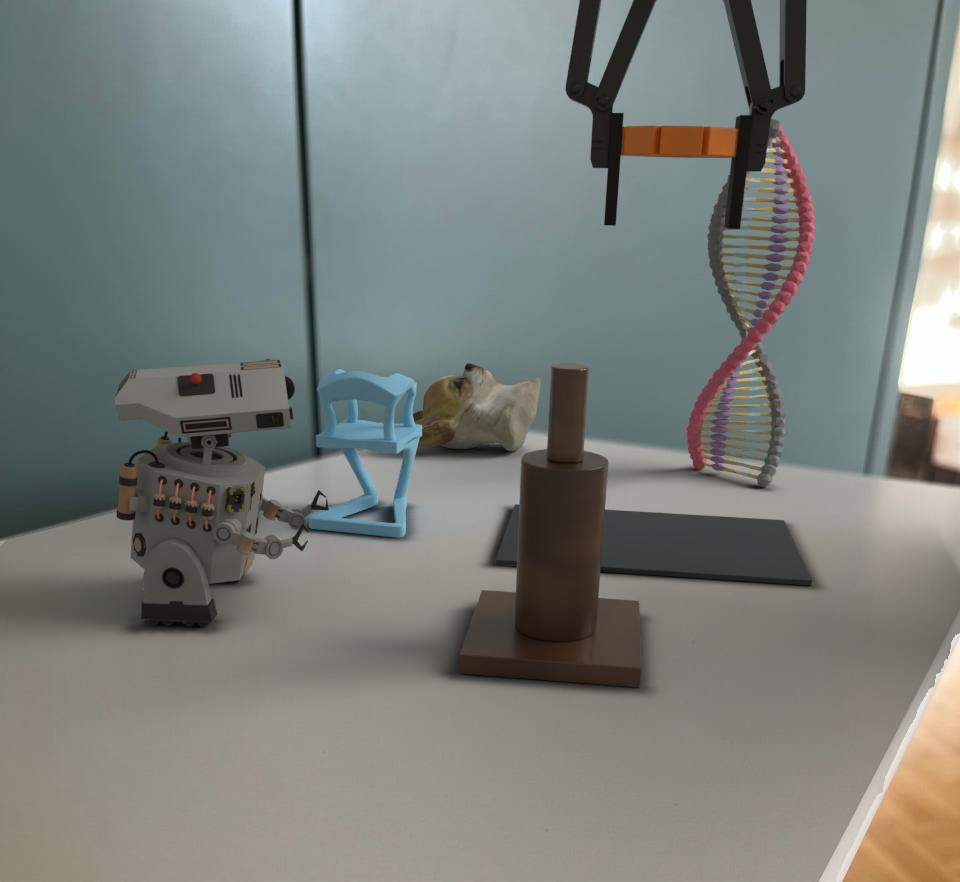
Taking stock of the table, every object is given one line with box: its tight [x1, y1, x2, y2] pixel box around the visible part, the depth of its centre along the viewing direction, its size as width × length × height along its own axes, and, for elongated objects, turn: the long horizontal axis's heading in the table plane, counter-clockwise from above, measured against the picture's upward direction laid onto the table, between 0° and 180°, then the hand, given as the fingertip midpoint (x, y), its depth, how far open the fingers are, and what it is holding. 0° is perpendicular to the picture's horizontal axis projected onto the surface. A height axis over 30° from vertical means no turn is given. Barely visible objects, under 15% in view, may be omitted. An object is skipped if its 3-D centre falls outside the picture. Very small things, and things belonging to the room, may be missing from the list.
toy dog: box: [412, 362, 542, 452], centre depth 104 cm, size 11×9×15 cm
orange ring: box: [621, 124, 739, 159], centre depth 66 cm, size 7×7×2 cm
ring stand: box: [458, 362, 643, 688], centre depth 58 cm, size 10×10×16 cm
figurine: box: [114, 358, 329, 628], centre depth 63 cm, size 9×12×15 cm
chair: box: [308, 368, 422, 539], centre depth 81 cm, size 8×8×12 cm
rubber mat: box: [495, 503, 813, 586], centre depth 79 cm, size 22×14×1 cm, turn 83°
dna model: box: [686, 118, 816, 488], centre depth 91 cm, size 9×9×30 cm
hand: (670, 225), depth 68 cm, fingers closed on orange ring, 7 cm apart
